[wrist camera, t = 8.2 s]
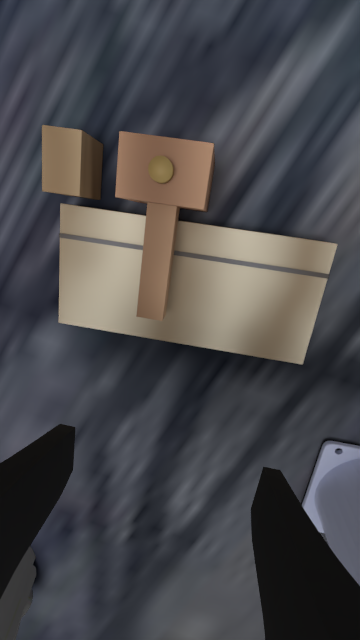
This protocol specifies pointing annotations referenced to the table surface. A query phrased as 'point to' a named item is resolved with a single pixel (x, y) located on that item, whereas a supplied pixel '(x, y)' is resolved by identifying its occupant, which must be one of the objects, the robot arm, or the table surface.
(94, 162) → the block
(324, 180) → the table surface
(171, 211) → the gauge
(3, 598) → the gun
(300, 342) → the board
